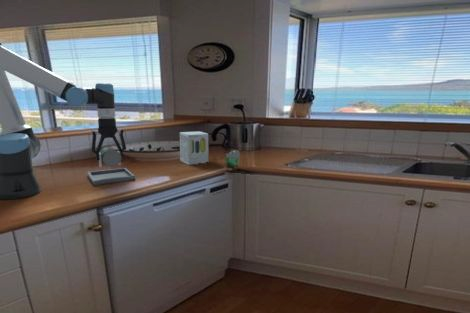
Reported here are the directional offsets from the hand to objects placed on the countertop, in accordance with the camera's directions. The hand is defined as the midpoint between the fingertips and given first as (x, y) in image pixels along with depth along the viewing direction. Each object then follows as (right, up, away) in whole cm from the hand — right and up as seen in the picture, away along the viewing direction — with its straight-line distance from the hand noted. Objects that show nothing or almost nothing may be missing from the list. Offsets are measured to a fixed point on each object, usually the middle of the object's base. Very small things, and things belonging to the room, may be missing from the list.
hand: (110, 165), depth 147 cm
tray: (0, -6, +1) cm, 6 cm away
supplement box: (+35, +1, +39) cm, 52 cm away
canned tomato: (+4, +3, -6) cm, 8 cm away
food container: (+59, -3, +21) cm, 62 cm away
